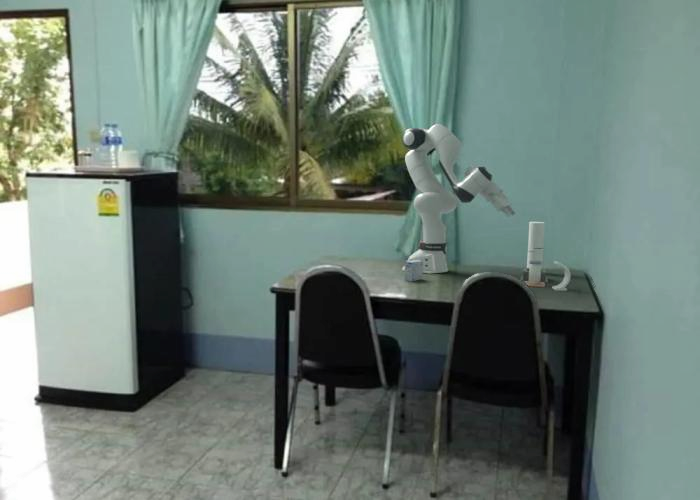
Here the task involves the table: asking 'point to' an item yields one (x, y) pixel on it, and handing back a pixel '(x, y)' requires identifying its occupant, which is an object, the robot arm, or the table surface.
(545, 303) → the table surface
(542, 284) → the mat
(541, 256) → the cylindrical container
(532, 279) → the filter cartridge
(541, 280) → the filter housing
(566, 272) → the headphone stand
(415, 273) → the medicine box
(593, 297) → the table surface
